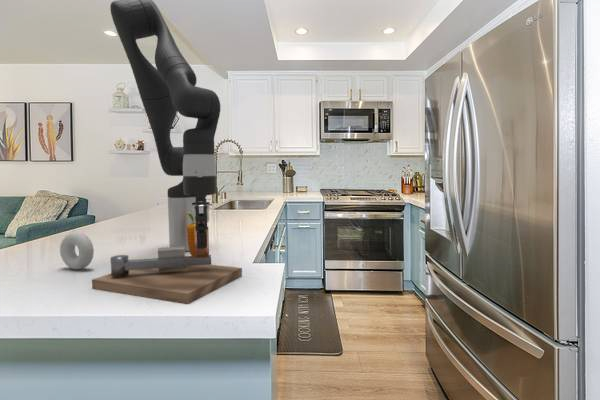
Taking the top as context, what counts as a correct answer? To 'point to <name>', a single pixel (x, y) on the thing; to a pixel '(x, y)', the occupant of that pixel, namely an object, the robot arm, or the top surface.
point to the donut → (70, 255)
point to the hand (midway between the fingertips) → (201, 245)
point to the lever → (160, 261)
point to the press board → (170, 280)
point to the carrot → (191, 235)
